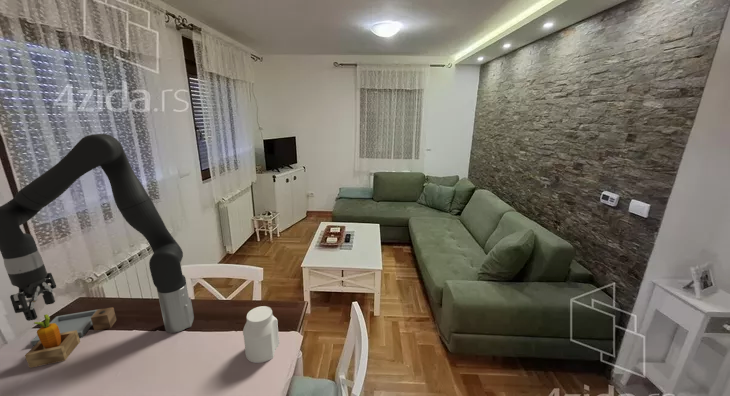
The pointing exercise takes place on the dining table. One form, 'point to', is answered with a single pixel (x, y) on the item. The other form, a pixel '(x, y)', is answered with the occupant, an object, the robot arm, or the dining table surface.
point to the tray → (72, 323)
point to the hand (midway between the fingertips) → (42, 311)
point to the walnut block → (103, 319)
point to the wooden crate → (53, 350)
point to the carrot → (48, 333)
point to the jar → (260, 335)
